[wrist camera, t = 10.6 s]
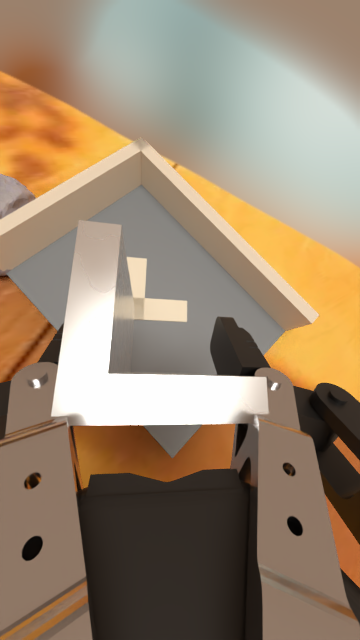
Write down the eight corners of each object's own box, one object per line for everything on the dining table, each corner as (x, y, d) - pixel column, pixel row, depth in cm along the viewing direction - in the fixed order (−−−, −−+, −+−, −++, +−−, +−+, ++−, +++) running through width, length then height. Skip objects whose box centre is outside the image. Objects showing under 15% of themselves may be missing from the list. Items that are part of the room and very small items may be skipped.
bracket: (109, 391, 14) (49, 426, 5) (116, 306, 15) (78, 219, 6) (195, 392, 15) (268, 423, 6) (195, 311, 16) (257, 240, 7)
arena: (4, 268, 22) (-36, 240, 17) (142, 179, 27) (141, 136, 22) (171, 454, 21) (179, 479, 16) (286, 325, 25) (319, 314, 20)
